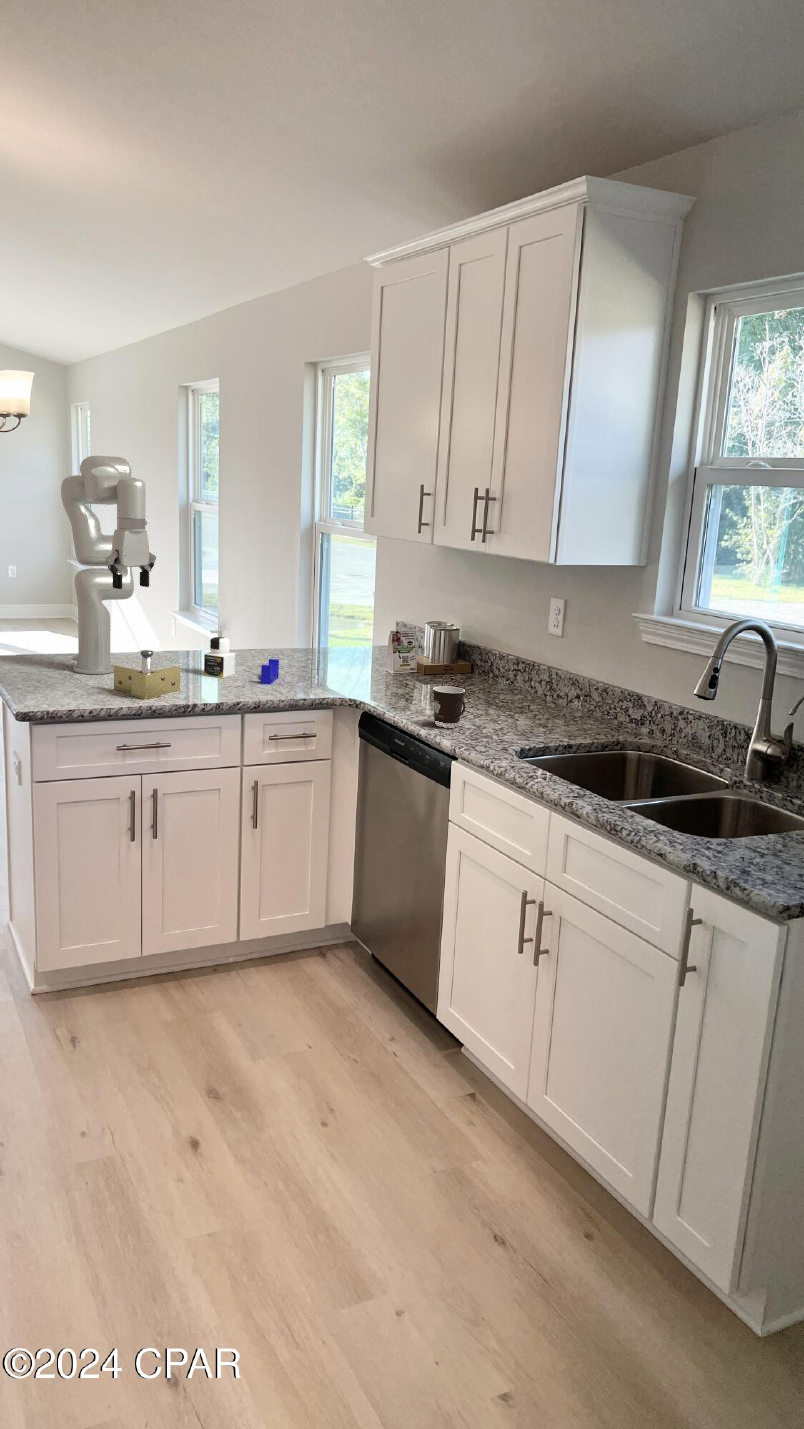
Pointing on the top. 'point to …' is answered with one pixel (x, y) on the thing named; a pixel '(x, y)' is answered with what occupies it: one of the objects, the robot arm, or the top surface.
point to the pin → (146, 661)
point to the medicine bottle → (219, 659)
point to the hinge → (146, 681)
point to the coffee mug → (448, 704)
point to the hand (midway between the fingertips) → (131, 587)
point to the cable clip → (270, 672)
